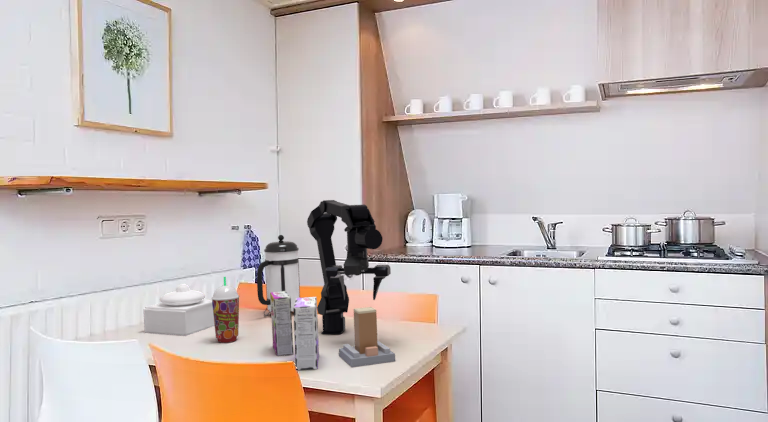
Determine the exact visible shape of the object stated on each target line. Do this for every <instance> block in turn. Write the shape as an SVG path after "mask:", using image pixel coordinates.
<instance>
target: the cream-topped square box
mask: <svg viewBox="0 0 768 422" xmlns="http://www.w3.org/2000/svg"><path fill="white" fill-rule="evenodd" d="M377 319H378V318H377V309H376V308H375V307H372V306H370V307H366V306H365V307H357V308H353V329H354V332H353V333H354V347H355V350H357V351H358V352H359V354H365V348H366V347H374V346H376V347H378V343H377V340H378V321H377Z"/></svg>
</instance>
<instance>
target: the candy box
mask: <svg viewBox="0 0 768 422" xmlns="http://www.w3.org/2000/svg"><path fill="white" fill-rule="evenodd" d="M317 306H318V300H317V296H306V297H299V298H296V301H295V305H294V311H293V326H294V327H293V328H294V331H293V333H294V335H293V336H294V337H293V338H294V358H295V359H294V361H295V364H296V365H295V368H296V367H297V369H298V370H297V371H307V370H308V371H309V370H310V371H311V370H314V371H315V370H318V368H319V357H320V351H319V350H320V349H319V348H320V347H319V346H320V344H319V324H318V323H319V321H318V320H319V319H318V310H317Z"/></svg>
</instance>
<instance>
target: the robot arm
mask: <svg viewBox="0 0 768 422" xmlns="http://www.w3.org/2000/svg"><path fill="white" fill-rule="evenodd" d="M338 218H341V222H342V223H344V224H345V225H346V227H345V228H344V229H343V230H344V232H346V243H347V244H346V245H347V252H346V259H345V261H344V263H343V266H342V265H339V264H337V261H336V258H335V252H334V246H333V240H332V237H333V234H334V231H335V224H336V222H337V220H338ZM375 222H376V221H375V219H374V218H373V216H372V214H371V211H370V209H369V207H368V206H367V205H366V204H347V203H344V202H343V203H342V202H340V201H337V200H335V199H328V200H327V199H326V200H324V199H323V200H322V201H320V203H319V205H318V206H316V207H315V208H314V209H312V210H311V211H310V212H309V215H308V218H307V220H306V225H307V227H308V229H309V233H310V235H311V236H312V237H313V239H314V240H315V241H316V244H317V249H318V250H317V251H318V256H319V261H320V267H321V273H322V278H323V287H322V288H321V292H320V296H321V298H320V300H319V302H318V303H317V315H318V314H319V315H321V320H322V331H321V333H320V334H321V335H341V334H342V333H344V332H345V331H346V317H345V316H344V314H345V313H348V312H349V311H348V310H349V305H350V304H349V303H350V297H349V294H348V290H347V288H348V287H347V285H346V284H345V277H344V276H355V277H356V276H358V277H359V276H361V275H363V274H364V275H368V274H369V275H371V274H372V275H375V276H374V277H373V279H372V280H373V287H372V288H373V289H372V298H373V299H372V300H373V301H375V300H376V298H377V294H378V291H379V288H380V285H381V283H382V280H384V279H386V278H387V277H389V276H390V275H391V266H390V265H389V264H376V265H375V266H374V267H370V264H369V259H368V249H369V250H376V249H378V248H380V247H381V245H382V243H383V235H382V233H381V231H379V230H378V229H377V226H376V224H375Z"/></svg>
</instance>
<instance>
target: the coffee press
mask: <svg viewBox="0 0 768 422" xmlns="http://www.w3.org/2000/svg"><path fill="white" fill-rule="evenodd" d="M284 239H285V236H284V235H282V234H279V235H278V236H277V240H278V241H272V242H270V243H268V244H267V245H266V246H265V248H264V249H263V252H264V254H265V255H264V257H265V259H264V261H262V262H261V263H260V264H259V265H258V267H257V270H256V289H257V290H256V291H257V299H258V301H259V303H260V304H261V305H264V306H267V307H266V309H265V310H264V311H263V315H264V316H268V315H269V314H270V313H271V300H270V293H271V292H279V291H280V292H281V291H286V292H287V293H288V295H289V296H290V297H291V313H292V312H293V313H294V305H295V301H296V298H300V296H301V289H300V288H301V287H300V272H299V270H300V262H299V260H300V259H299V258H300V257H299V255H298V253H299V247H298V245H297V244H296V243H295V242H294V241H290V240H289V241H285V240H284ZM264 269H265V283H266V286H265V291H266V295H265V296H266V299H265V298H264V288H263V287H264V286H263V273H264ZM267 310H268V311H269V312H268V313H267V314H265V313H266V311H267Z"/></svg>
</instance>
